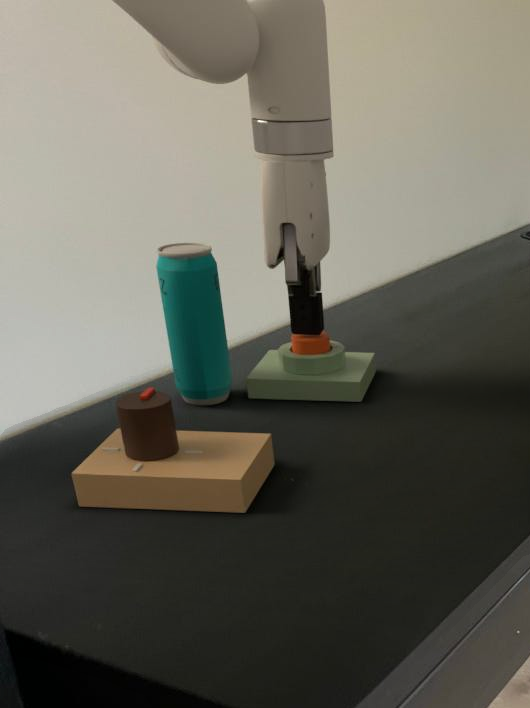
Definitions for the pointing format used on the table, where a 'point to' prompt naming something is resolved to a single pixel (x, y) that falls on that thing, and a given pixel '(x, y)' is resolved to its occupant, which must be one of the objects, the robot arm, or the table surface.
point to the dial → (147, 425)
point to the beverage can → (194, 322)
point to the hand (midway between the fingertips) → (308, 332)
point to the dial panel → (178, 474)
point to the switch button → (310, 344)
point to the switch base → (312, 375)
